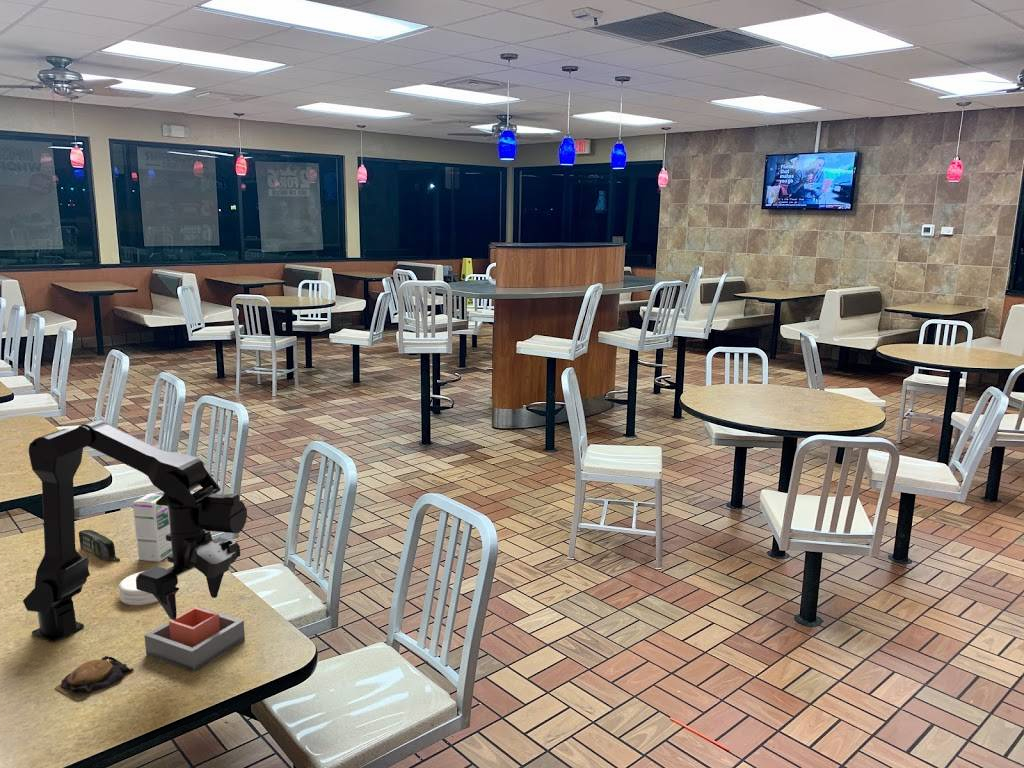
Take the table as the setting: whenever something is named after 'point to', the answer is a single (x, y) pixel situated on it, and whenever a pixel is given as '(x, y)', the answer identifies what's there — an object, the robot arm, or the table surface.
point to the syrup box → (152, 528)
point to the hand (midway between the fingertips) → (194, 608)
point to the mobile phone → (97, 545)
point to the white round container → (134, 592)
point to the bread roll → (93, 678)
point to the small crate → (194, 627)
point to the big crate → (200, 654)
